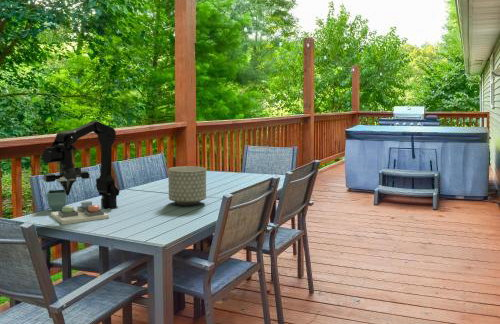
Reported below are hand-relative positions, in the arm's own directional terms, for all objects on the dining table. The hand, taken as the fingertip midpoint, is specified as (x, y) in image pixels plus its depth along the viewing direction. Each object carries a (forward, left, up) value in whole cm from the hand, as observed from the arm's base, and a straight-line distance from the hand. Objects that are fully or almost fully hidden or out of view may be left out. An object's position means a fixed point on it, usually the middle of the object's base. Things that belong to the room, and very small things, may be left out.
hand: (67, 195), depth 226 cm
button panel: (-5, 0, -10) cm, 12 cm away
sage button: (0, 0, -8) cm, 8 cm away
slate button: (-10, -5, -8) cm, 14 cm away
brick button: (-10, +5, -8) cm, 14 cm away
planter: (-59, +3, -11) cm, 60 cm away
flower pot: (-1, -21, -11) cm, 24 cm away
